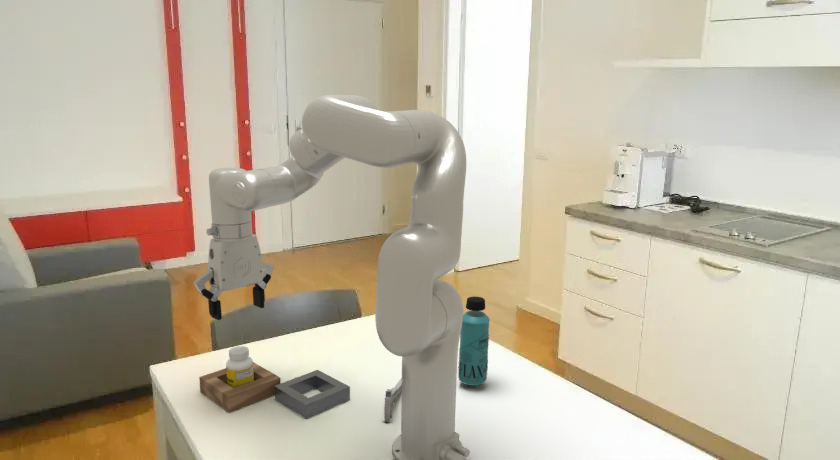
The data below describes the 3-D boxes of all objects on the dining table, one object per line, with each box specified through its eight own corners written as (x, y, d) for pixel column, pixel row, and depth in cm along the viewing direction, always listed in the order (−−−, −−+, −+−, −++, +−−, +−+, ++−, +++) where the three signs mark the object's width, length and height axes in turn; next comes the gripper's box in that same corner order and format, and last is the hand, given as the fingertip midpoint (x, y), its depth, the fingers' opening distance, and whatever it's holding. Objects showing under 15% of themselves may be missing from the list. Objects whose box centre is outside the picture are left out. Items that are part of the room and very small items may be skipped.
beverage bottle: (452, 387, 135) (455, 300, 131) (464, 375, 141) (467, 291, 137) (480, 394, 132) (484, 305, 128) (491, 382, 138) (495, 296, 134)
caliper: (389, 424, 121) (389, 394, 119) (384, 424, 121) (384, 394, 119) (409, 377, 140) (409, 351, 139) (404, 377, 140) (405, 351, 139)
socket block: (350, 399, 129) (349, 386, 129) (306, 418, 122) (306, 404, 121) (317, 382, 137) (317, 369, 136) (274, 399, 129) (274, 386, 128)
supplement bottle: (226, 389, 133) (223, 346, 131) (252, 385, 135) (250, 342, 133) (229, 401, 128) (227, 356, 126) (256, 396, 130) (254, 352, 128)
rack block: (281, 392, 132) (280, 377, 131) (229, 412, 123) (228, 396, 123) (250, 374, 140) (250, 360, 139) (200, 392, 132) (199, 377, 131)
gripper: (200, 240, 115) (207, 328, 119) (280, 226, 127) (284, 306, 131) (182, 234, 120) (189, 318, 124) (260, 221, 133) (264, 298, 136)
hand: (238, 312), depth 127 cm, fingers open, 9 cm apart
